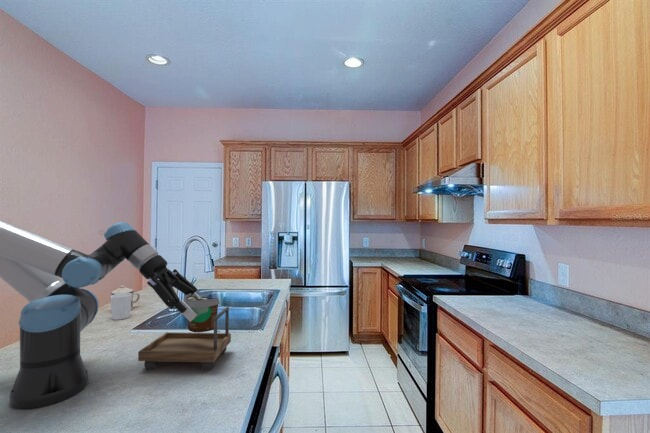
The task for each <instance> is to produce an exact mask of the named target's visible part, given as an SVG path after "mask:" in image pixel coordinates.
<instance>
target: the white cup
mask: <svg viewBox="0 0 650 433" xmlns="http://www.w3.org/2000/svg"><path fill="white" fill-rule="evenodd" d="M131 297H132V294H131V293H119V294H114V295H110V309H111V310H110V311H111V319H112V320H114V321H115V320H117V321H118V320H121V321H122V320H125V319H128V318H130V317H131Z"/></svg>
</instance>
